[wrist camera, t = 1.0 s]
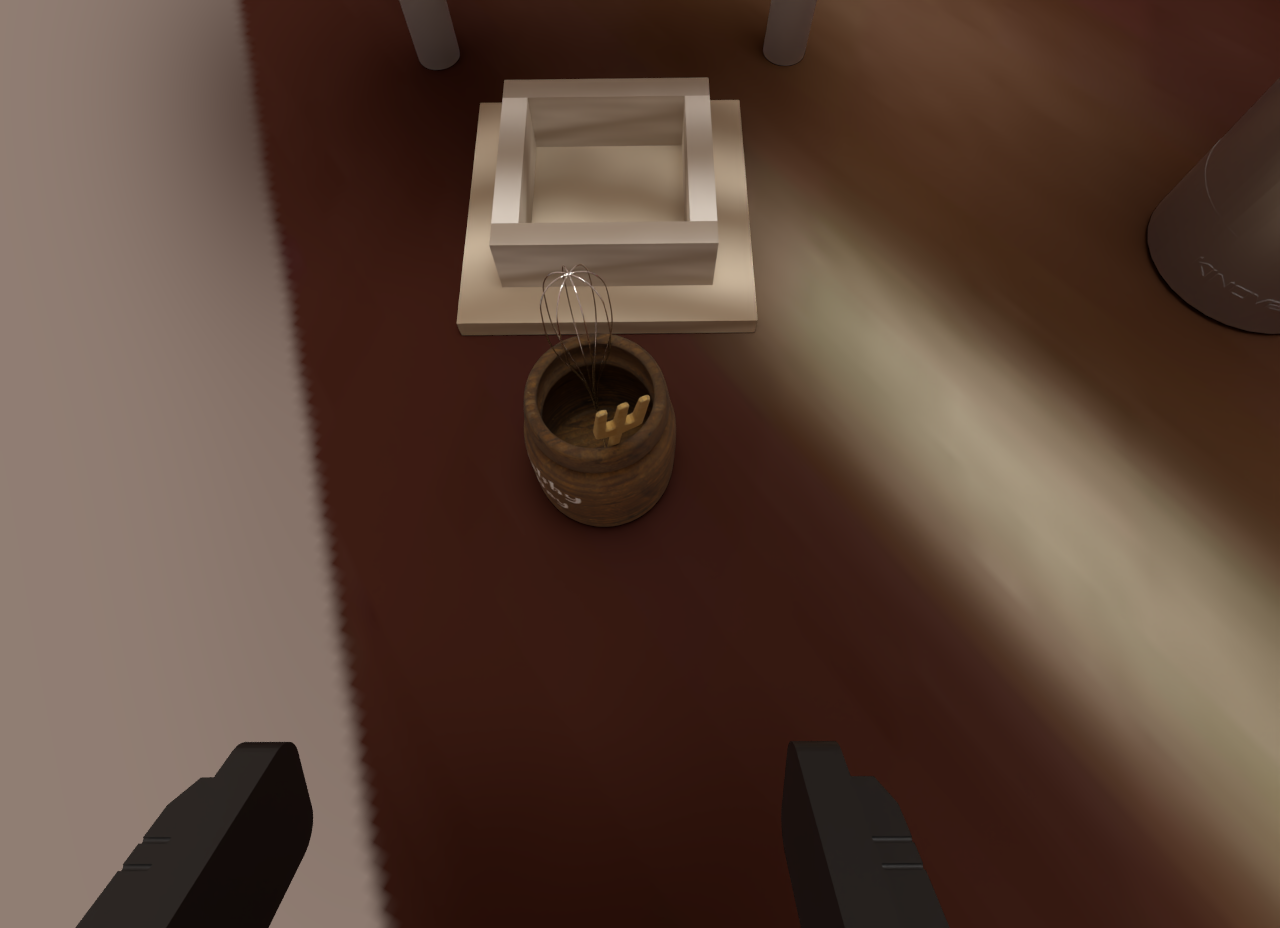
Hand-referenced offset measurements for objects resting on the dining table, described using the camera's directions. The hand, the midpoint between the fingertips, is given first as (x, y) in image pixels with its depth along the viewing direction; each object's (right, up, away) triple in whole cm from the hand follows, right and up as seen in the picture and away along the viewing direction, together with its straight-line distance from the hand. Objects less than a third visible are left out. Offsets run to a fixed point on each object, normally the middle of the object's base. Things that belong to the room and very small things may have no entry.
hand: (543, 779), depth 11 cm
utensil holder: (0, +5, +19) cm, 20 cm away
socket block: (0, +18, +24) cm, 30 cm away
